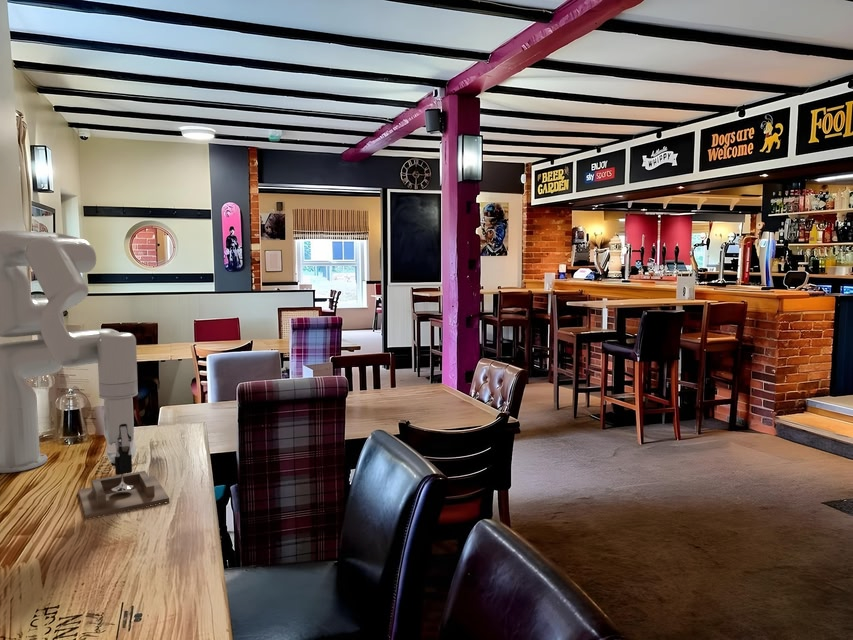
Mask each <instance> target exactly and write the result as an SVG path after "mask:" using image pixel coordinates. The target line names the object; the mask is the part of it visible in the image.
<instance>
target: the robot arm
mask: <svg viewBox="0 0 853 640" xmlns="http://www.w3.org/2000/svg"><path fill="white" fill-rule="evenodd" d="M95 251H96V250H95V249H94V247H93V246H92V244H91V243H90V242H89V241H87V240H86V239H83V238H80V237H76V236H73V235H72V236H71V235H69V234H64V233H58V232H50V231H47V232H46V231H28V230H0V338H19V337H31V336H37V339H31V340H20V341H10V342H5V343H3V342H2V343H0V474H7V473H18V472H24V471H27V470H32V469H34V468H37V467H40V466H43V465H44V464H45V463H46V462H48V456H47V454H45V453H43V452H42V453H41V452H40V451H41V449H40V434H39V433H40V432H39V430H40V429H39V414H38V399H37V394H36V392H35V389H34V388H32V386H31V385H29V384H28V383H27V381H26V379H30V378H36V377H37V378H38V377H42V376H48V375H53V374H55V373H59V372H61V370H62V369H63V367H67V368H68V367H69V368H72V367H79V366H85V365H92V364H97V373H98V375H97V376H98V394H99V395H98V397H99V398H100V399H102V400H103V435H104V438H105V440H106V442H108V444H110V445H112V443H115V446H116V457H115V463H112V462H111V463H110V465H111V466H112V467H115V468H114V469H115V471H114V472H115V473H114V474H115V476H118V475H121V474H123V475H124V474H129V473H133V462H132V460H133V459H132V455H131V448H130V442H132V441H133V439H134V440H135V437H134V436H135V435H134V434H135V431H134V429H135V426H134V424H135V421H134V420H135V419H134V403H133V402H134V401H133V398H134V397H136V396H138V394H139V392H138V387H139V386H138V364H137V363H138V362H137V361H138V359H137V358H138V357H137V338H136V336H135V335H134V334H133V333H131V332H124V331H123V332H122V331H121V332H119V331H118V330H115V329H113V328H99V329H98V328H97V329H86V330H74V331H68V330H67V328H66V327H65V317H64V312H65V311H67V310H70V309H71V308H73V307H76V306H78V304H81V302H82V301H84V300H85V299H86V298H87V297H88V294H89V286H88V285H87V283H86V282H85V279H84V278H83V276H82V274H83V273H85V274H86V273H89V272H91V271H92V270H94V268H95V266H96V264H97V255H96V252H95ZM21 267H30V268H31V270H32V272H33V274H34V276H35V279H36V280H37V282H38V283H39V285H40V288H41V289H42V292H43V294H44V295H45V297H34V298H33V297H32V296H31V282H30V279H29V277H28V275H27V274H26V273H25V272H24V271H23V270H22V269H21ZM129 436H130V437H129ZM120 439H121V442H118V440H120ZM119 445H121V447H120V448H119Z"/></svg>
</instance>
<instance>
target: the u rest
mask: <svg viewBox="0 0 853 640" xmlns="http://www.w3.org/2000/svg"><path fill="white" fill-rule="evenodd" d="M123 480H124V483H125V484H132V485H133V486H134V487H133V488H132V489H130V490H127V491H122V492H114V491H112V490H111V489H112V487H114V486H116V485H120V483H121V475H113V476H107V477H102V478H96V479H95V478H94V479H92V480H91V487H86V488H79V489H78V496H79V500H80V503H82V504H81V507H82V510H84V511H83V514H85V515H84V518H85V520H86V519H87V520H90V519H89V518H92V519H94V518H93V517H96V518H99V517H98V516H101V517H104V516H103V515H106V516H110V515H109V514H111V515H115V514H114V513H116V514H119V512H121V513H124V511H125V512H129V511H128V510H130V511H134V510H133V509H135V510H138V509H137V508H140V509H143V508H142V507H145V508H147V507H146V506H149V507H151V506H150V505H154V506H156V505H155V504H159V503H164V504H166V503H165V502H169V503H170V497H169V495H168V494H167V492H166V491H165V489H164V488H163V486H162V484H161V483H160V481H159V480H158V478H157V477H156V475H152V476H149V475H148V472H146V470H142V471H136V472H131V473H126V474H123ZM159 505H160V504H159Z"/></svg>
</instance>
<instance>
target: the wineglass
mask: <svg viewBox="0 0 853 640" xmlns="http://www.w3.org/2000/svg"><path fill="white" fill-rule="evenodd" d="M129 437H130V436H129ZM106 442H107V441H106ZM118 442H121V439H120V440H118ZM120 447H121V445H119V448H120ZM130 448H131V455H132V460H133V459H134V458H135V455H136V451H137V450H136V442H135V438H134V439H133V441H132V442H130ZM105 453H106V457H107V459H108V461H109V462H112V463H115V457H116V446H115V443H112V445H110V444H108V442H107V443H106V452H105ZM123 475H124V474H121V483H120V485H116V486H114V487H112V489H111V490H112V491H114V492H122V491H127V490H130V489H132V488H133V487H134V486H133V485H132V484H125V483H124V480H123Z"/></svg>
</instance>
